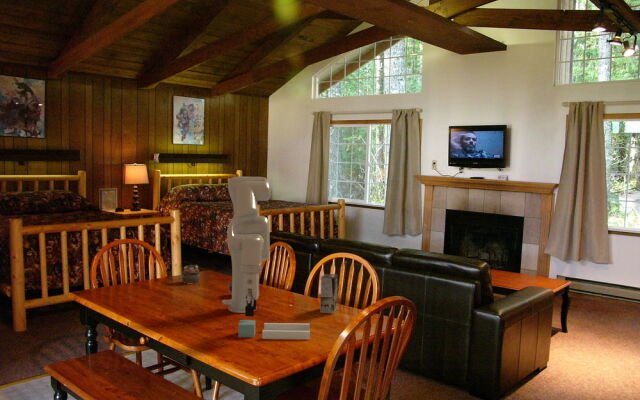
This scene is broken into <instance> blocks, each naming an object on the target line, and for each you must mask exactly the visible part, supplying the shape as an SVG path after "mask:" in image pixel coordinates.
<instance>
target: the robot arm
mask: <svg viewBox="0 0 640 400" xmlns="http://www.w3.org/2000/svg"><path fill="white" fill-rule="evenodd" d="M227 188H228V189H227V190H228V193H229V196H230V199H231V202H232V206H233V217H232V219H231V220H230V221H229V223H228V226H227V233H226V234H227V235H226V237H227V238H226V239H227V248H228V250H229V253H230V256H231V257H230V258H231V268H232V269H231V270H232V271H231V272H232V273H231V274H232V275H231V279H232V281H231V282H232V293H231V299H229V300H226V299H222V300H221V301H222V302H221V304H222V305H223V306H228V309H227V310H228V311H229V312H231V313H236V314H244V316H245V317H254V315H255V311H256V310H257V300H258V299H259V296H260V279H259V278H260V277H259V274H261V273H262V262H263V261H267V260H268V259H269V258H270V254H271V253H270V252H271V249H270V248H271V245H270V243H271V242H270V241H271V240H270V239H271V238H270V237H271V235H270V234H271V233H270V223H269V219H268V218H267V217H266V216H264V215H258V214H259V207H258V202H263V201H264V202H265V201H269V200H270V198H271V196H272V195H271V194H272V189H271V184H270V182H269V180H268V179H267V178H266V177H263V176H234V177H231V178H229V179H228V183H227Z"/></svg>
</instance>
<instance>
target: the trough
mask: <svg viewBox="0 0 640 400" xmlns="http://www.w3.org/2000/svg"><path fill="white" fill-rule="evenodd" d="M310 324H311V323H302V322H301V323H300V322H299V323H294V322H293V323H290V322H287V323H286V322H284V323H283V322H280V323H279V322H264V324H263V329H262V335H261V336H262V340H308V341H309V340H310V339H311V331H310V329H311V327H310Z"/></svg>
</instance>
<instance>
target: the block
mask: <svg viewBox="0 0 640 400" xmlns="http://www.w3.org/2000/svg"><path fill="white" fill-rule="evenodd" d="M237 327H238V328H237V330H238V335H237V337H238V338H255V335H256V320H255V319H239V322H238V326H237Z"/></svg>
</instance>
